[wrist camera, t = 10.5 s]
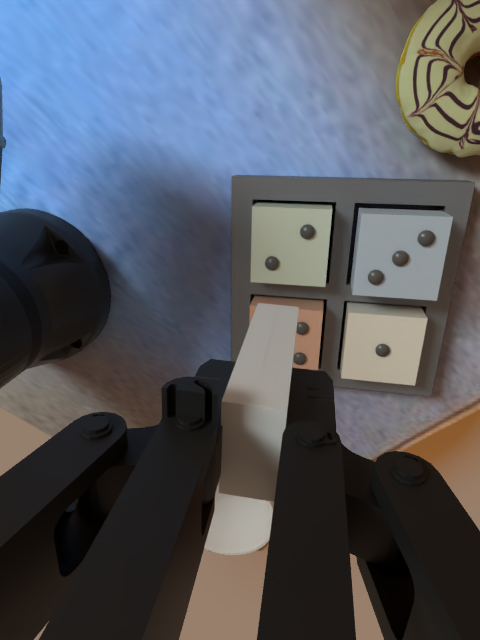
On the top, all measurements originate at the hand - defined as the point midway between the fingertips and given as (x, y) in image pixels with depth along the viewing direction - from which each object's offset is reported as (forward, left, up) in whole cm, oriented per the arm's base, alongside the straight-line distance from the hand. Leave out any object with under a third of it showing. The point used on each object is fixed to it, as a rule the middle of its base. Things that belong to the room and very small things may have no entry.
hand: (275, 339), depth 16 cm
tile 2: (-1, -1, -22) cm, 22 cm away
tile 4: (-1, -9, -22) cm, 23 cm away
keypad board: (+3, -5, -23) cm, 23 cm away
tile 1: (+7, -9, -22) cm, 24 cm away
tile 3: (+7, -1, -20) cm, 21 cm away
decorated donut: (+11, +11, -23) cm, 28 cm away
